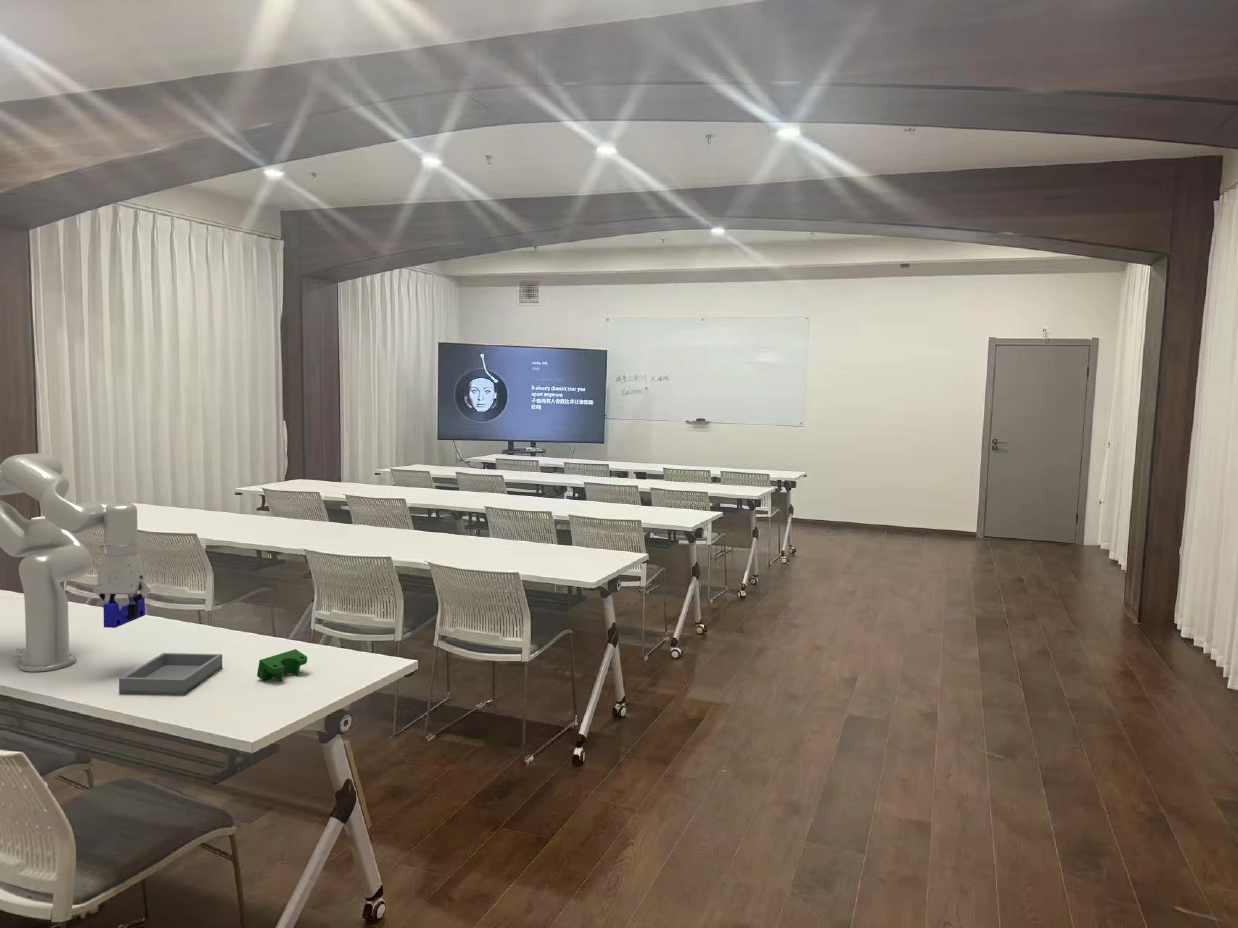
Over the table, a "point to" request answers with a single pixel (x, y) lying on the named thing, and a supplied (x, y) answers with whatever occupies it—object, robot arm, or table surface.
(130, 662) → the table surface
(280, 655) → the clamp
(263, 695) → the table surface
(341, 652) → the table surface
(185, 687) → the gray tray
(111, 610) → the blue long angular piece
